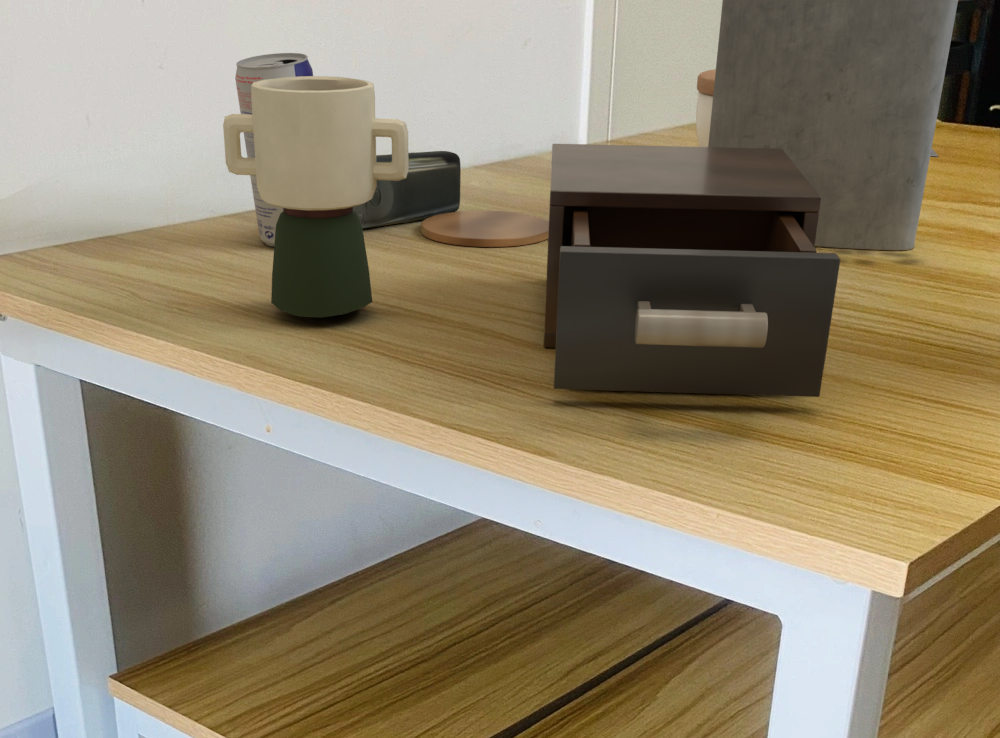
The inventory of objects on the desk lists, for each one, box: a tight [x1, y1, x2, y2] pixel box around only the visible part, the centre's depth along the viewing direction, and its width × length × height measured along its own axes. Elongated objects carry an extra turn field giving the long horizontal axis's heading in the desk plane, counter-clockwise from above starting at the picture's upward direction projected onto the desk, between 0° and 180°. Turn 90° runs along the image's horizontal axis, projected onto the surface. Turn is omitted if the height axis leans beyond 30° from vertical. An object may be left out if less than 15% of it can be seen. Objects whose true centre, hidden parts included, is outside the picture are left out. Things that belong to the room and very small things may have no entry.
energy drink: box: [234, 52, 314, 248], centre depth 97 cm, size 5×5×12 cm
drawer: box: [553, 206, 841, 398], centre depth 72 cm, size 19×13×7 cm
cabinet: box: [543, 143, 821, 349], centre depth 83 cm, size 16×15×9 cm
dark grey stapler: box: [353, 150, 462, 230], centre depth 105 cm, size 5×3×15 cm
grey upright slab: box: [708, 0, 959, 251], centre depth 98 cm, size 16×4×20 cm, turn 72°
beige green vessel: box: [222, 75, 409, 319], centre depth 81 cm, size 11×7×13 cm, turn 82°
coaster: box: [420, 210, 549, 248], centre depth 104 cm, size 10×10×1 cm
